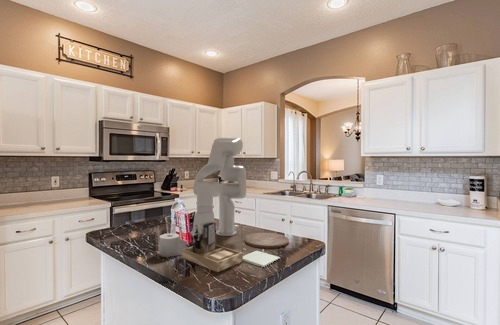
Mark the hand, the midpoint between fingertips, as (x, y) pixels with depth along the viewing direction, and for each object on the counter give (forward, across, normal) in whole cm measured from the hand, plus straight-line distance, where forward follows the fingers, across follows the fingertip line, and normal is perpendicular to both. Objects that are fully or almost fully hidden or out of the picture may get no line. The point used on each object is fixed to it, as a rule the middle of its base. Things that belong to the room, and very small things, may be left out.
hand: (204, 246), depth 129 cm
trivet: (+6, -40, +8) cm, 41 cm away
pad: (+5, -15, +22) cm, 27 cm away
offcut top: (+3, 0, +12) cm, 13 cm away
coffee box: (+5, 0, 0) cm, 5 cm away
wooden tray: (+5, 0, +5) cm, 7 cm away
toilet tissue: (+5, +7, -15) cm, 18 cm away
